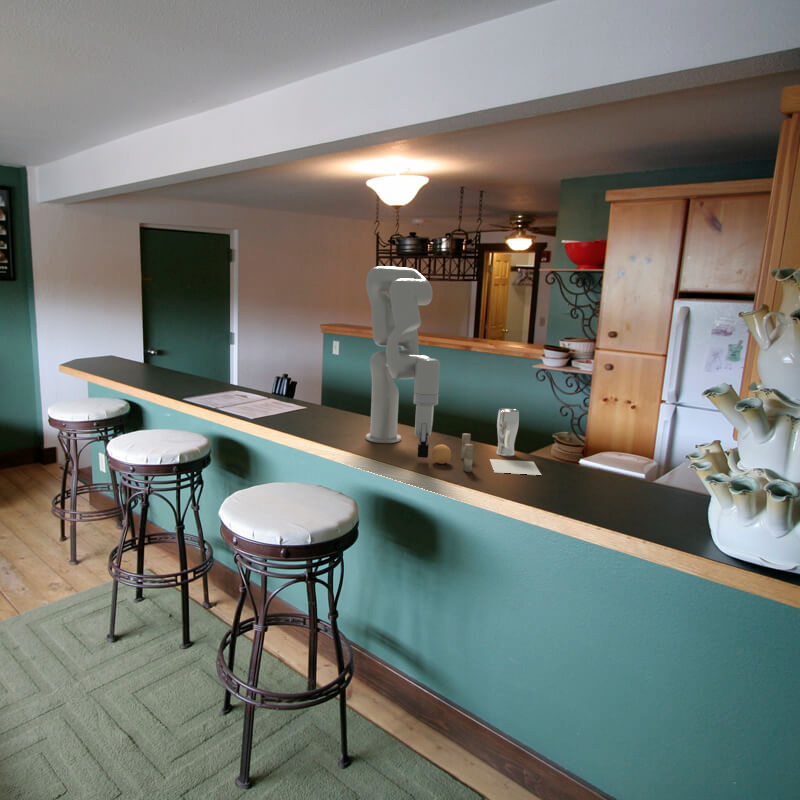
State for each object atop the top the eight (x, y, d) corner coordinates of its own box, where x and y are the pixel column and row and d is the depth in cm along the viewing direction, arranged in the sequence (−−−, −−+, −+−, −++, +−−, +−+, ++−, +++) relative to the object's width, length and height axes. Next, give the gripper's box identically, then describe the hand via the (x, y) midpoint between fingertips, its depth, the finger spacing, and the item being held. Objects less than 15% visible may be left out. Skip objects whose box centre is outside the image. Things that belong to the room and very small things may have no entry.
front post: (462, 469, 171) (464, 443, 170) (471, 469, 171) (473, 444, 170) (463, 471, 169) (464, 445, 167) (471, 472, 169) (473, 446, 167)
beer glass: (500, 457, 186) (503, 412, 184) (491, 451, 193) (494, 408, 190) (519, 456, 188) (523, 412, 185) (510, 450, 195) (513, 408, 192)
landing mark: (489, 459, 183) (489, 459, 183) (533, 462, 182) (533, 461, 182) (494, 472, 169) (494, 472, 169) (541, 475, 169) (541, 475, 168)
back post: (460, 457, 184) (462, 433, 183) (468, 457, 184) (470, 433, 183) (461, 459, 182) (462, 435, 180) (469, 459, 182) (470, 435, 180)
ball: (444, 438, 178) (455, 453, 178) (429, 448, 179) (440, 463, 180) (442, 444, 172) (454, 459, 172) (426, 454, 174) (438, 470, 174)
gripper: (414, 394, 181) (412, 449, 184) (412, 402, 166) (409, 462, 169) (438, 395, 180) (435, 451, 184) (437, 403, 166) (434, 464, 169)
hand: (422, 456), depth 177 cm, fingers closed
